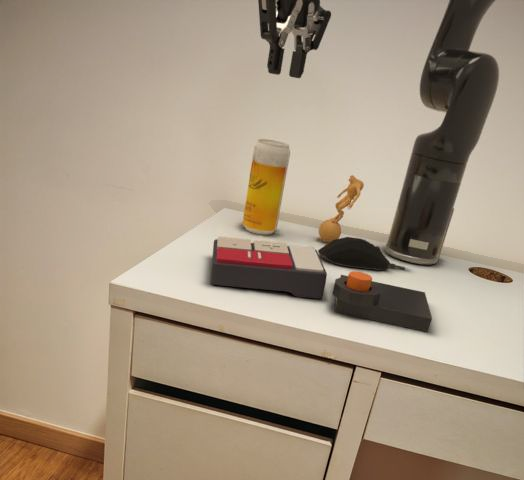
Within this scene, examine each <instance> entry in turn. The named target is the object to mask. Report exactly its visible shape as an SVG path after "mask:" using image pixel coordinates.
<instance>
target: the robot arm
mask: <svg viewBox="0 0 524 480" xmlns="http://www.w3.org/2000/svg"><path fill="white" fill-rule="evenodd" d="M257 1H258V18H259V29H260V30H259V31H260V32H259V33H260V38H261V39H262V40H265V41H266V42H267V44H268V45H269V52H268V58H267V65H266V67H267V72H268V73H269V74H271V75H277V76H279V75H280V74H281V72H282V67H283V61H284V56H285V48H284V47H285V46H286V43H287V39H288V37H289V34H290V33H292V36H293V43H294V44H293V48H294V50H292V54H291V60H290V66H289V71H288V76H289V77H291V78H293V79H294V78H295V79H301V78H302V76H303V74H304V71H305V66H306V61H307V55H308V53H309V52H310V51H313V50H314V51H317V50H318V49H319V48H320V45H321V42H322V40H323V37H324V34H325V32H326V29H327V28H328V25H329V23H330V21H331V18H332V12H331V10H327V9H325V8H323V6H321V0H257ZM496 1H497V0H449V1H448V2H447V3H448V4H447V6H446V9H445V11H444V14H443V17H442V19H441V21H440V24H439V27H438V29H437V31H436V34H435V37H434V39H433V42H432V44H431V46H430V49H429V52H428V53H427V57H426V60H425V62H424V65H423V68H422V70H421V71H422V72H421V76H420V81H419V97H420V98H419V99H420V100H421V103H422V105H423V106H424V107H425V108H426V109H428V110H431V111H435V112H438V113H439V112H440V113H444V118H443V119H442V122H441V123H440V125H439V126H438V127H437V128H435V129H433V130H432V131H429V132H424V133H421V134H419V135H417V136H416V138H415V140H414V143H413V146H412V149H411V154H410V156H409V160H408V165H407V168H406V172H405V175H404V179H403V183H402V188H401V191H400V194H399V198H398V201H397V205H396V210H395V212H394V217H393V220H392V224H391V228H390V232H389V234H388V240H387V242H386V244H385V248H384V252H385V253H387V254H388V255H390V256H391V257H393V258H396V259H398V260H400V261H404V262H407V263H412V264H416V265H426V266H428V265H429V266H430V265H435V264H437V263H438V261H439V259H440V256H441V253H442V249H443V247H444V243H445V240H446V236H447V234H448V230H449V228H450V225H451V221H452V218H453V215H454V211H455V204H456V201H457V197H458V194H459V192H460V187H461V185H462V181H463V178H464V175H465V171H466V168H467V165H468V162H469V159H470V157H471V155H472V153H473V151H474V150H475V148H476V146H477V145H478V143H479V141H480V138H481V135H482V133H483V129H484V127H485V124H486V122H487V120H488V116H489V114H490V111H491V108H492V106H493V103H494V101H495V97H496V95H497V90H498V86H499V80H500V67H499V64H498V61H497V60H496V58H495V57H494V56H493V55H491V54H490V53H486V52H482V51H472V50H470V49H471V46H472V43H473V40H474V38H475V35H476V33H477V31H478V29H479V26H480V25H481V22H482V20H483V19H484V17H485V15H486V14H487V12H489V9H490V8H491V7H492V6H493V5H494V3H495V2H496Z"/></svg>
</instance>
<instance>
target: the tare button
mask: <svg viewBox="0 0 524 480" xmlns="http://www.w3.org/2000/svg"><path fill="white" fill-rule="evenodd" d="M347 276H348V279H347V283H346V286H347V287H349V288H352V289H354V290H359V291H369V289H370V285H371V282H372V281H373V276H372V275H370V274H368V273H365V272H362V271H356V270H354V271H349V273H348V275H347Z"/></svg>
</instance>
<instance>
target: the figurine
mask: <svg viewBox="0 0 524 480" xmlns="http://www.w3.org/2000/svg"><path fill="white" fill-rule="evenodd" d="M348 182H349V184H348V185H347V187H346V188H344V189H343V190H342V191H341V192H340V193H339V194H338V195H337V198H340V197H342V195H343V194H345V193H346V195H345V196H344V197H343V198H341V199H340V200H339V201H337V202H336V203H335V206H334V207H335V209H336V211H337V214H336V215H335V216H334V217H331V218H329V219H325V220H324V221H322V223H321V224H320V225H319V227H318V235H319V238H320V239H321V240H322V241H323V242H325V243H330V242H331V241H333V240H335V239H340V238H341V235H342V227H341V224H340V223H339V222H340V221H341V220H342V219H343V218H344V215H345V211H343V210H344V209H345V208H347V209H349V210H351V209H352V208H353V206H354V204H355V203H356V201H357V200H358V199H359V197H360V196H361V192H362V190H363V189H364V185H365V184H364V182H363V181H362V180H361V179H358V178H356V177H355V175H354V174H352V175H350V176H349V178H348Z"/></svg>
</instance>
